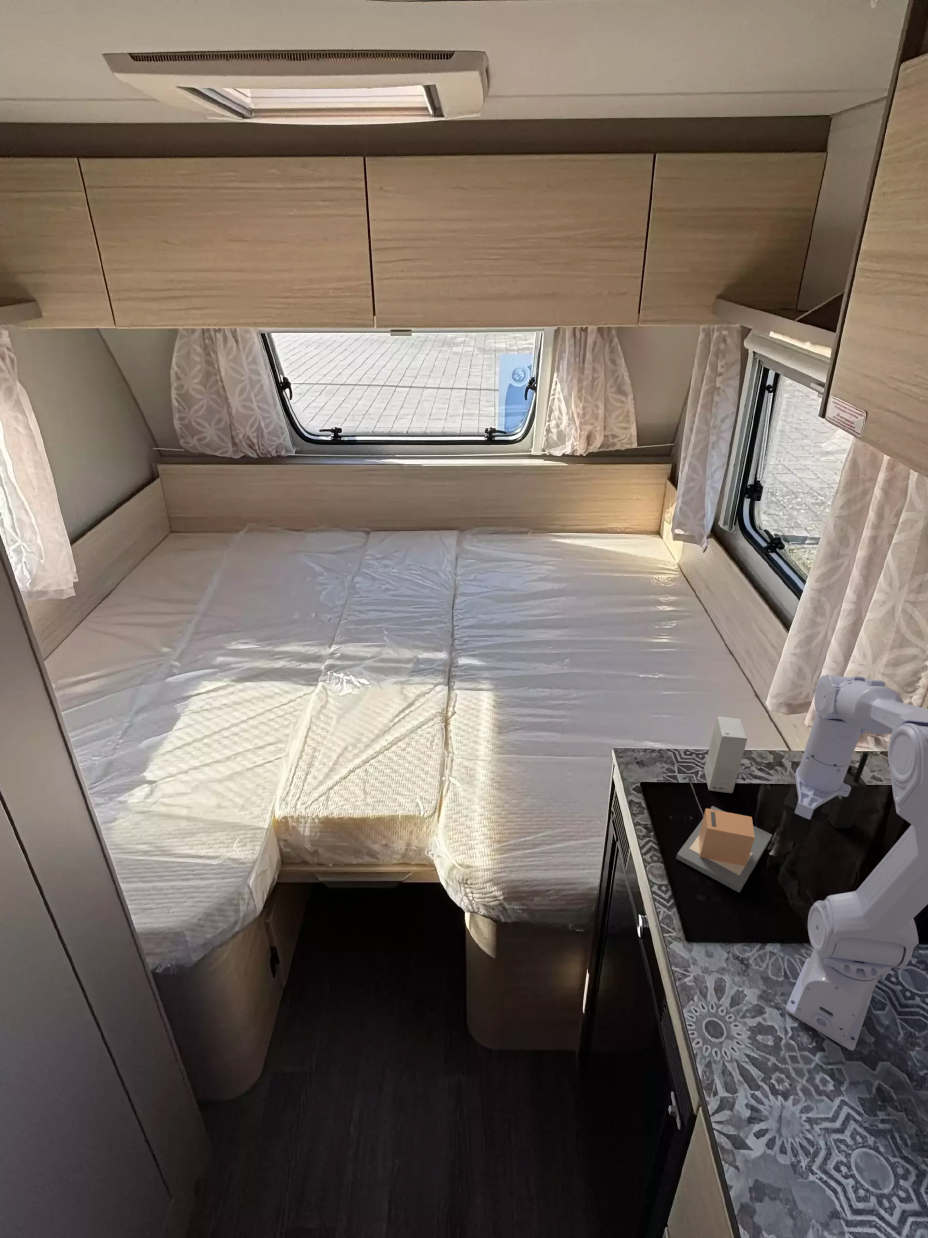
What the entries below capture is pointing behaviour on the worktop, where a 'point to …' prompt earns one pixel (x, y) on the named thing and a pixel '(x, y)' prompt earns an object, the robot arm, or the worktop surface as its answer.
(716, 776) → the skincare box
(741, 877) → the board
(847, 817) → the walkie-talkie
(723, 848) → the plug housing
